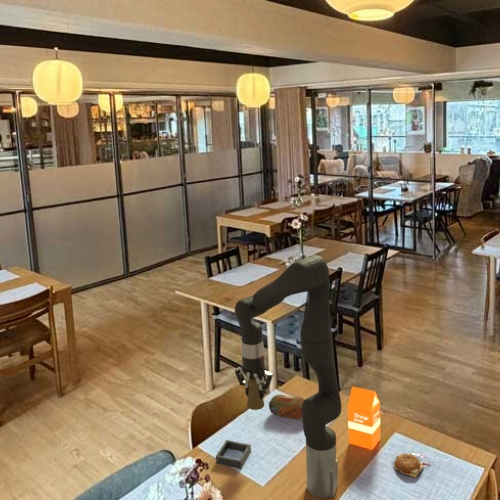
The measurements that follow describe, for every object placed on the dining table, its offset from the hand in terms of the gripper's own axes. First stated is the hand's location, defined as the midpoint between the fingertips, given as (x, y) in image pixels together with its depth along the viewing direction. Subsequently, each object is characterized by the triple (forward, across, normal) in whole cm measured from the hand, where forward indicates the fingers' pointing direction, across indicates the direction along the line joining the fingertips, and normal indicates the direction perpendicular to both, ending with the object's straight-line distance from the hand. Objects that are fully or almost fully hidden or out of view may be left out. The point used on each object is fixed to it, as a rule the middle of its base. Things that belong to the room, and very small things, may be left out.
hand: (255, 396), depth 189 cm
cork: (+3, 0, 0) cm, 3 cm away
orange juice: (+19, +35, +13) cm, 42 cm away
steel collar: (+19, -5, -10) cm, 22 cm away
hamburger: (+20, +53, +5) cm, 57 cm away
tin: (+19, +5, +20) cm, 28 cm away
